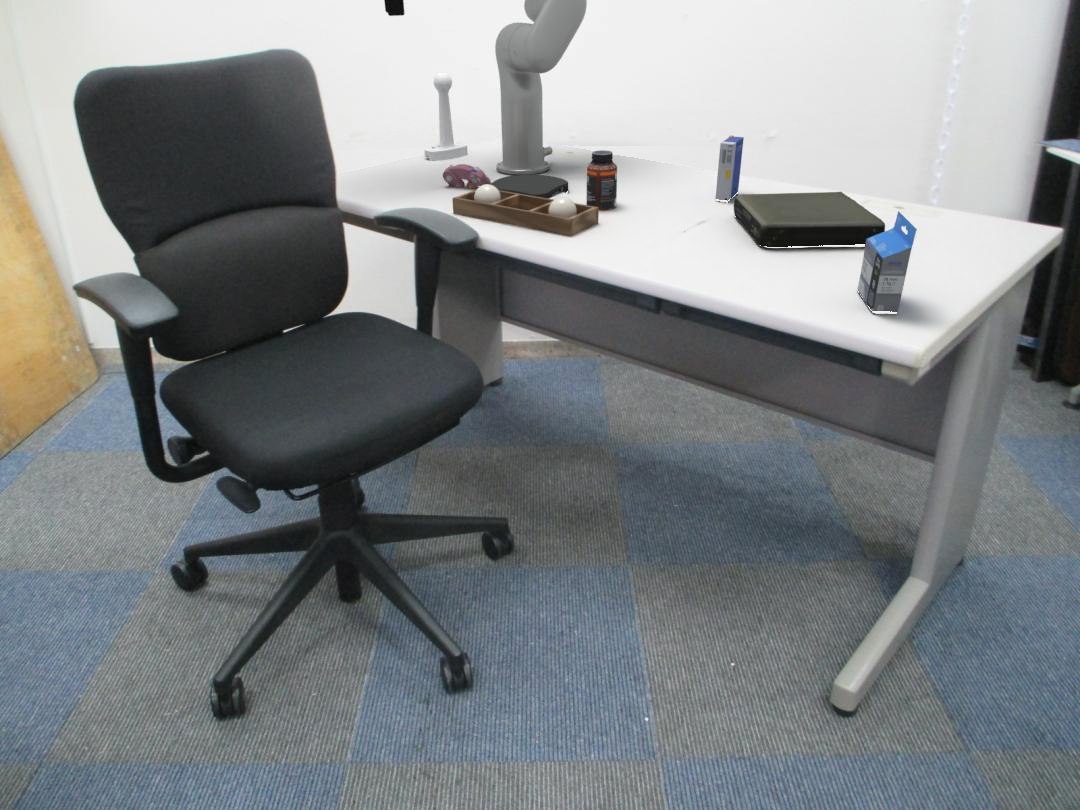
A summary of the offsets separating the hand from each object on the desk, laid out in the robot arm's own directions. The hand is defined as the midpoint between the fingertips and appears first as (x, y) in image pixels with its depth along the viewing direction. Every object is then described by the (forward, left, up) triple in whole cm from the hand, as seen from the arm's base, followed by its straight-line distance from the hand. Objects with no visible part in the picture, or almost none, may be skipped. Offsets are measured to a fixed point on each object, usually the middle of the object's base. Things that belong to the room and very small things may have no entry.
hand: (394, 13), depth 165 cm
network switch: (-14, +84, -35) cm, 92 cm away
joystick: (-28, -14, -35) cm, 47 cm away
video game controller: (-4, +13, -35) cm, 37 cm away
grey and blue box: (+14, +105, -35) cm, 111 cm away
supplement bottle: (-6, +46, -35) cm, 58 cm away
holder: (+9, +38, -35) cm, 52 cm away
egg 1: (+9, +29, -34) cm, 46 cm away
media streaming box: (-9, +26, -35) cm, 45 cm away
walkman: (-28, +63, -35) cm, 77 cm away
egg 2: (+9, +47, -34) cm, 58 cm away
